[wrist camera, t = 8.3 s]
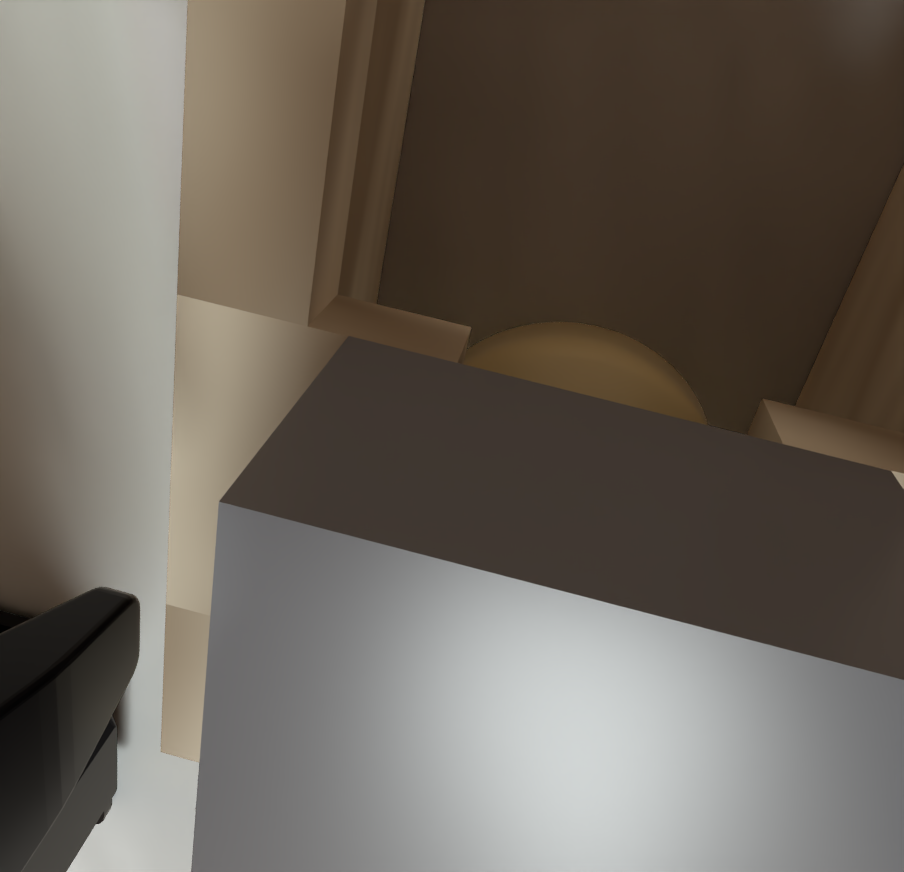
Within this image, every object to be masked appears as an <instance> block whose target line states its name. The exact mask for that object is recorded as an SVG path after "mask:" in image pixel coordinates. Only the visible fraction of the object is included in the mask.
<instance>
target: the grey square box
mask: <svg viewBox="0 0 904 872" xmlns="http://www.w3.org/2000/svg"><path fill="white" fill-rule="evenodd" d="M191 872H904V489H903V488H902V486H901V485H900V483H899V482H898V480H897V479H896V477H895V476H894V474H893V473H892V471H889V470H885V469H881V468H877V467H873V466H869V465H865V464H861V463H857V462H853V461H849V460H845V459H841V458H837V457H833V456H829V455H825V454H821V453H817V452H813V451H809V450H805V449H801V448H797V447H793V446H789V445H785V444H781V443H777V442H773V441H769V440H765V439H761V438H757V437H753V436H749V435H745V434H741V433H737V432H733V431H729V430H725V429H721V428H717V427H713V426H709V425H708V423H707V420H706V417H705V414H704V411H703V409H702V407H701V405H700V403H699V401H698V399H697V397H696V395H695V394H694V392H693V391H692V389H691V388H690V386H689V385H688V383H687V382H686V380H685V379H684V378H683V377H682V376H681V375H680V374H679V373H678V372H677V370H676V369H675V368H674V367H673V366H672V365H671V364H670V363H668V362H667V361H666V360H665V359H664V358H662V357H661V356H660V355H659V354H658V353H656V352H655V351H653V350H652V349H650V348H648V347H647V346H645V345H644V344H642V343H640V342H639V341H636V340H634V339H632V338H630V337H628V336H626V335H623V334H621V333H619V332H616V331H612V330H609V329H606V328H603V327H599V326H594V325H588V324H583V323H574V322H544V323H534V324H529V325H524V326H519V327H514V328H511V329H508V330H505V331H502V332H499V333H496V334H494V335H492V336H490V337H488V338H486V339H484V340H482V341H480V342H478V343H476V344H475V345H473V346H472V347H470V348H469V349H467V350H466V355H465V359H464V364H460V363H456V362H452V361H448V360H444V359H440V358H436V357H432V356H428V355H424V354H420V353H416V352H412V351H408V350H404V349H400V348H396V347H392V346H388V345H384V344H380V343H376V342H372V341H368V340H364V339H360V338H356V337H352V336H348V337H347V339H346V340H345V341H344V342H343V344H342V345H341V346H340V347H339V349H338V350H337V351H336V353H335V354H334V355H333V356H332V358H331V359H330V360H329V361H328V363H327V364H326V365H325V367H324V368H323V369H322V370H321V372H320V373H319V374H318V376H317V377H316V378H315V379H314V381H313V382H312V383H311V384H310V386H309V387H308V388H307V390H306V391H305V392H304V393H303V395H302V396H301V397H300V399H299V400H298V401H297V402H296V404H295V405H294V406H293V407H292V409H291V410H290V411H289V413H288V414H287V415H286V416H285V418H284V419H283V420H282V422H281V423H280V424H279V425H278V427H277V428H276V429H275V430H274V432H273V433H272V434H271V436H270V437H269V438H268V439H267V441H266V442H265V443H264V445H263V446H262V447H261V448H260V450H259V451H258V452H257V453H256V455H255V456H254V457H253V459H252V460H251V461H250V462H249V464H248V465H247V466H246V468H245V469H244V470H243V471H242V473H241V474H240V475H239V476H238V478H237V479H236V480H235V482H234V483H233V484H232V485H231V487H230V488H229V489H228V491H227V492H226V493H225V494H224V496H223V497H222V498H221V499H220V501H219V506H218V519H217V533H216V546H215V560H214V573H213V587H212V600H211V613H210V627H209V640H208V654H207V667H206V681H205V694H204V707H203V721H202V734H201V748H200V761H199V775H198V788H197V801H196V815H195V828H194V842H193V855H192V869H191Z"/></svg>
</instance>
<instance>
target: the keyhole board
mask: <svg viewBox="0 0 904 872" xmlns="http://www.w3.org/2000/svg"><path fill="white" fill-rule="evenodd" d="M424 5H425V0H188V8H187V35H186V63H185V91H184V119H183V147H182V175H181V202H180V230H179V258H178V286H177V314H176V341H175V369H174V397H173V425H172V453H171V480H170V508H169V536H168V564H167V592H166V620H165V647H164V675H163V703H162V731H161V752H163V753H166V754H170V755H174V756H177V757H181V758H185V759H188V760H192V761H196V762H199V761H200V748H201V734H202V721H203V707H204V694H205V681H206V667H207V654H208V640H209V627H210V613H211V600H212V587H213V573H214V560H215V546H216V533H217V519H218V506H219V501H220V499H221V498H222V497H223V496H224V494H225V493H226V492H227V491H228V489H229V488H230V487H231V485H232V484H233V483H234V482H235V480H236V479H237V478H238V476H239V475H240V474H241V473H242V471H243V470H244V469H245V468H246V466H247V465H248V464H249V462H250V461H251V460H252V459H253V457H254V456H255V455H256V453H257V452H258V451H259V450H260V448H261V447H262V446H263V445H264V443H265V442H266V441H267V439H268V438H269V437H270V436H271V434H272V433H273V432H274V430H275V429H276V428H277V427H278V425H279V424H280V423H281V422H282V420H283V419H284V418H285V416H286V415H287V414H288V413H289V411H290V410H291V409H292V407H293V406H294V405H295V404H296V402H297V401H298V400H299V399H300V397H301V396H302V395H303V393H304V392H305V391H306V390H307V388H308V387H309V386H310V384H311V383H312V382H313V381H314V379H315V378H316V377H317V376H318V374H319V373H320V372H321V370H322V369H323V368H324V367H325V365H326V364H327V363H328V361H329V360H330V359H331V358H332V356H333V355H334V354H335V353H336V351H337V350H338V349H339V347H340V346H341V345H342V344H343V342H344V341H345V340H346V339H347V337H348V336H352V337H356V338H360V339H364V340H368V341H372V342H376V343H380V344H384V345H388V346H392V347H396V348H400V349H404V350H408V351H412V352H416V353H420V354H424V355H428V356H432V357H436V358H440V359H444V360H448V361H452V362H456V363H460V364H464V359H465V355H466V350H467V346H468V341H469V337H470V332H471V328H472V327H469V326H464V325H460V324H456V323H452V322H448V321H444V320H440V319H436V318H432V317H428V316H424V315H419V314H415V313H411V312H407V311H403V310H399V309H395V308H391V307H387V306H383V305H379V304H377V298H378V292H379V286H380V279H381V273H382V267H383V261H384V255H385V248H386V242H387V236H388V230H389V223H390V217H391V211H392V205H393V198H394V192H395V186H396V180H397V173H398V167H399V161H400V155H401V149H402V142H403V136H404V130H405V124H406V117H407V111H408V105H409V99H410V92H411V86H412V80H413V74H414V67H415V61H416V55H417V49H418V43H419V36H420V30H421V24H422V18H423V11H424ZM747 435H749V436H753V437H757V438H761V439H765V440H769V441H773V442H777V443H781V444H785V445H789V446H793V447H797V448H801V449H805V450H809V451H813V452H817V453H821V454H825V455H829V456H833V457H837V458H841V459H845V460H849V461H853V462H857V463H861V464H865V465H869V466H873V467H877V468H881V469H885V470H889V471H892V473H893V474H894V476H895V477H896V479H897V480H898V482H899V483H900V485H901V486H902V488H903V489H904V164H903V167H902V169H901V171H900V173H899V176H898V178H897V180H896V182H895V184H894V187H893V189H892V191H891V193H890V196H889V198H888V200H887V202H886V204H885V207H884V209H883V211H882V213H881V216H880V218H879V220H878V222H877V225H876V227H875V229H874V231H873V233H872V236H871V238H870V240H869V242H868V245H867V247H866V249H865V251H864V253H863V256H862V258H861V260H860V262H859V265H858V267H857V269H856V271H855V273H854V276H853V278H852V280H851V282H850V285H849V287H848V289H847V291H846V293H845V296H844V298H843V300H842V302H841V305H840V307H839V309H838V311H837V314H836V316H835V318H834V320H833V322H832V325H831V327H830V329H829V331H828V334H827V336H826V338H825V340H824V342H823V345H822V347H821V349H820V351H819V354H818V356H817V358H816V360H815V362H814V365H813V367H812V369H811V371H810V374H809V376H808V378H807V380H806V382H805V385H804V387H803V389H802V391H801V394H800V396H799V398H798V400H797V403H796V405H795V406H792V405H788V404H784V403H780V402H775V401H771V400H767V399H763V398H762V400H761V402H760V405H759V407H758V409H757V412H756V414H755V416H754V419H753V421H752V423H751V426H750V428H749V430H748V433H747Z"/></svg>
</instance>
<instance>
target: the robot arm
mask: <svg viewBox="0 0 904 872" xmlns="http://www.w3.org/2000/svg"><path fill="white" fill-rule="evenodd" d="M139 647H140V603H139V600H138V598H137V597H136V596H134V595H133V594H129V593H126V592H122V591H118V590H114V589H111V588H107V587H98V588H95V589H92V590H90V591H88V592H86V593H84V594H82V595H79V596H77V597H75V598H73V599H71V600H69V601H67V602H65V603H63V604H61V605H59V606H57V607H54V608H52V609H50V610H48V611H46V612H44V613H42V614H40V615H38V616H36V617H34V618H32V619H30V618H27V617H23V616H19V615H15V614H12V613H8V612H4V611H0V872H66V871H67V870H68V868H69V866H70V865H71V863H72V862H73V860H74V858H75V857H76V855H77V853H78V852H79V850H80V849H81V847H82V845H83V844H84V842H85V841H86V839H87V837H88V836H89V834H90V833H91V831H92V829H93V828H94V826H95V825H96V824H99V823H101V822H102V821H103V820H104V818H105V817H106V815H107V814H108V812H109V810H110V809H111V806H112V797H113V796H114V794H115V792H116V790H117V726H116V723H115V721H114V718H113V716H112V714H113V712H114V711H115V709H116V707H117V705H118V703H119V701H120V699H121V697H122V695H123V693H124V691H125V689H126V688H127V686H128V684H129V682H130V680H131V678H132V676H133V674H134V671H135V669H136V666H137V662H138V658H139Z"/></svg>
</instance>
